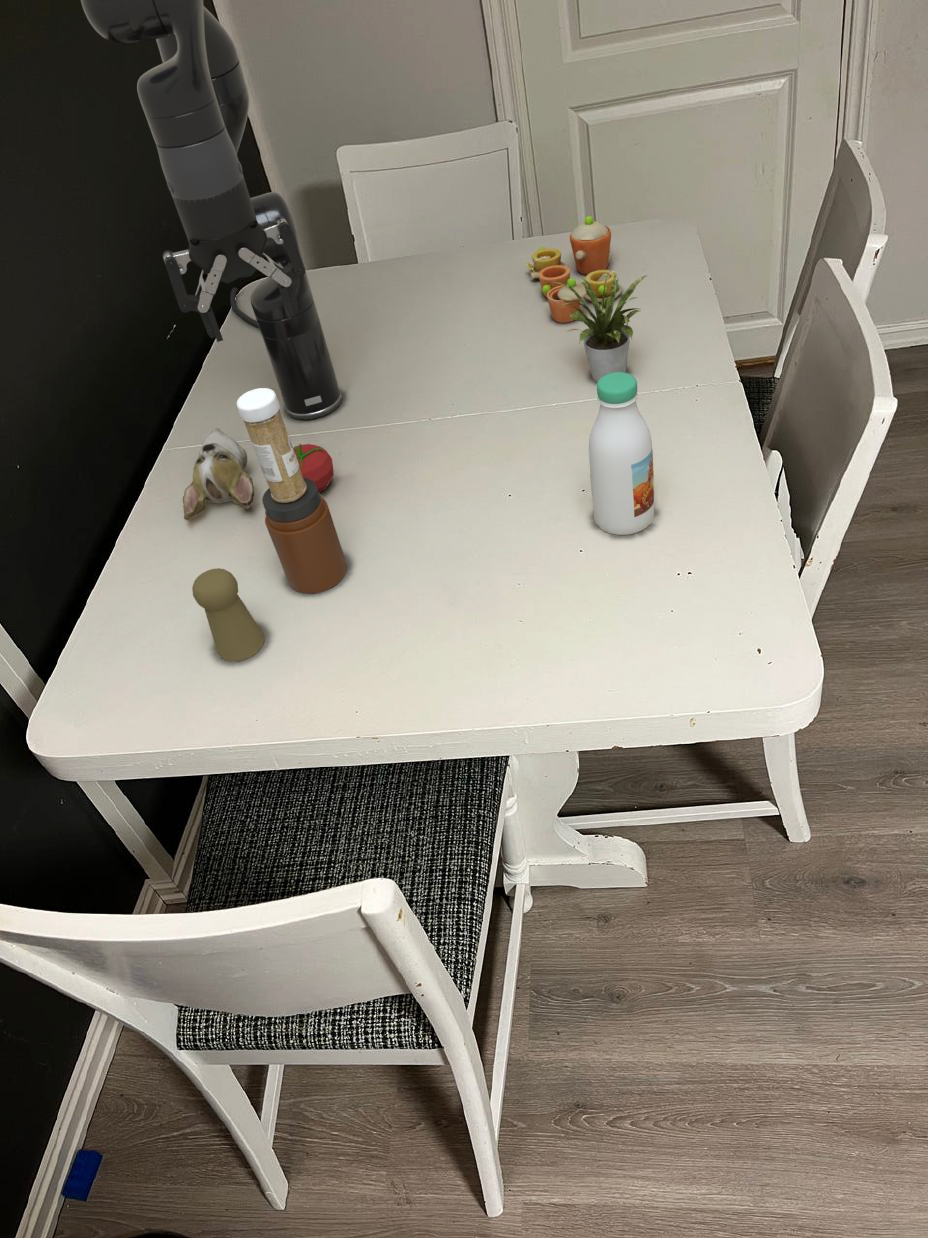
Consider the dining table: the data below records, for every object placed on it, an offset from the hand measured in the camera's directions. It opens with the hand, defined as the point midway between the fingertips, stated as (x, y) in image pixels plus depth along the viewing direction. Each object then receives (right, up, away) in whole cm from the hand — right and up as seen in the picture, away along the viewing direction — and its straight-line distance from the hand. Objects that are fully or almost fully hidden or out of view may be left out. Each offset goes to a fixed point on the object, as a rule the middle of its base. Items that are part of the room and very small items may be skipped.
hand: (255, 326), depth 108 cm
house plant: (+45, +4, +40) cm, 60 cm away
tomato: (+2, -14, +31) cm, 34 cm away
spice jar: (+3, -18, +8) cm, 20 cm away
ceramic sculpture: (-11, -15, +33) cm, 38 cm away
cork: (-4, -36, +9) cm, 38 cm away
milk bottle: (+44, -20, +15) cm, 51 cm away
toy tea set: (+44, +26, +62) cm, 81 cm away
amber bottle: (+5, -27, +17) cm, 32 cm away
